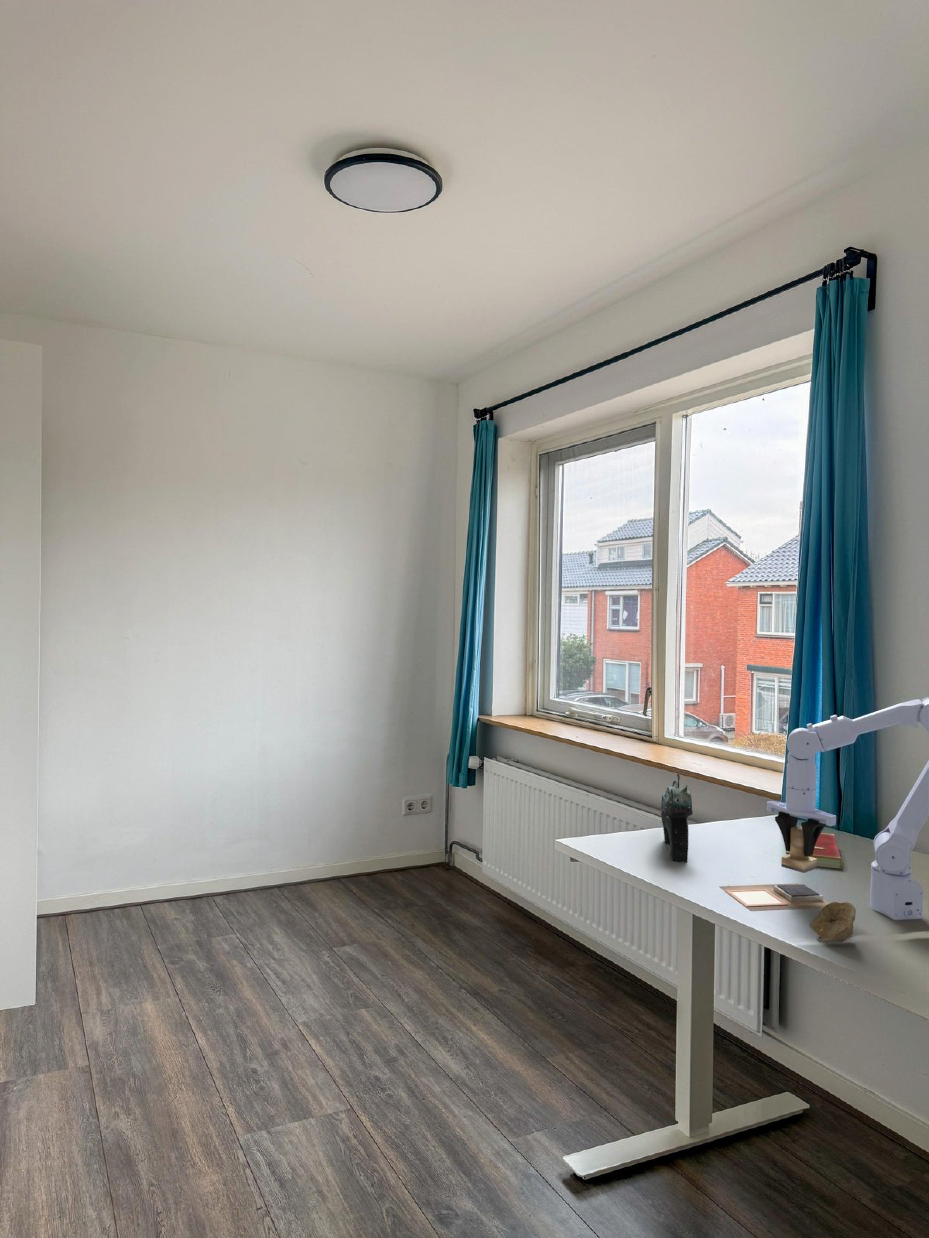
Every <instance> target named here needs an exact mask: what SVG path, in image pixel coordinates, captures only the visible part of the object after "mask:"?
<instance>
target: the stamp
mask: <svg viewBox="0 0 929 1238" xmlns="http://www.w3.org/2000/svg"><path fill="white" fill-rule="evenodd" d="M781 868H785V869H788V870H792V871H796V872H800V873H801V874H802V873H803V874H805V873H808V872H811V871H813V870H817V869H818V866H817V859H816V858H813V857H809V856H808V857H807V856H804V836H803V830H802V826H796V827H791V841H790V854H789V855H787V854H786V855H783V856H781Z"/></svg>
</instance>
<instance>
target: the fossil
mask: <svg viewBox="0 0 929 1238" xmlns="http://www.w3.org/2000/svg"><path fill="white" fill-rule="evenodd" d="M829 903H830V904H828V905H826V906H825V907H824V908H820V910H819V912H818V913H817V915H816V916H815V917H814V918H813V919H812V920H811V921H810V922H809V928H810V929H811V930H812V931H813V932H814V933H816V935H818V936H817V938H818V940H820V941H823V942H844V941H845V940H847V939H849V938H851V937H852V936H853V933H854V922H855V920H856V914H857V911H856V907H855V906H854V905H853V904H852V903H851V902H838V901H833V902H829Z"/></svg>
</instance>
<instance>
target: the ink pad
mask: <svg viewBox="0 0 929 1238" xmlns="http://www.w3.org/2000/svg"><path fill="white" fill-rule="evenodd" d="M798 884H799V885H776V886H774V891H775V892H777V893H778V894H780V895H781V896H783V897H784V898H786V899H787V900H789V901H790V902H809V901H823V900H824V895H823V894H821V893H819V892H817V891H816V890H814V889H812V888H811V887H809V886H807V884H804V883H803V884H801V883H798Z"/></svg>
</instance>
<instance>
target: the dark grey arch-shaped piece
mask: <svg viewBox="0 0 929 1238" xmlns="http://www.w3.org/2000/svg"><path fill="white" fill-rule="evenodd" d="M680 773H681V772H680V771H678V772H677V774H676V776H677V780H673V782H672V785H671V786H670V785H669V786H667V787H666V790H665V794H662V795H661V805H660V817H661V823H662V826H663V827H662V828H663V837H664V839H663V840H664V843H665V844H666V845H670V846H669V847H670V853H669V855H670V859H671V861H672V862H675V863H688V856H689V855H688V854H689V816H692V815H693V800H692V792H691V791H690V790H689V789H688V785H684V786H683V787H680V777H681V774H680Z"/></svg>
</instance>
